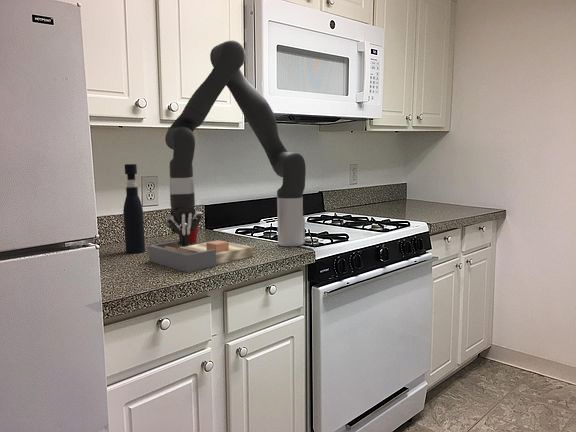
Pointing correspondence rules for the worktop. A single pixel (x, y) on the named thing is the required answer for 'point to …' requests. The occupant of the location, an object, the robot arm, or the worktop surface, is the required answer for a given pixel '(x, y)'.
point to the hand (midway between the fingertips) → (184, 246)
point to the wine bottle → (133, 214)
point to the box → (181, 257)
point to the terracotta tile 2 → (217, 245)
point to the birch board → (222, 252)
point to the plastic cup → (194, 234)
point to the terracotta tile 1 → (172, 248)
